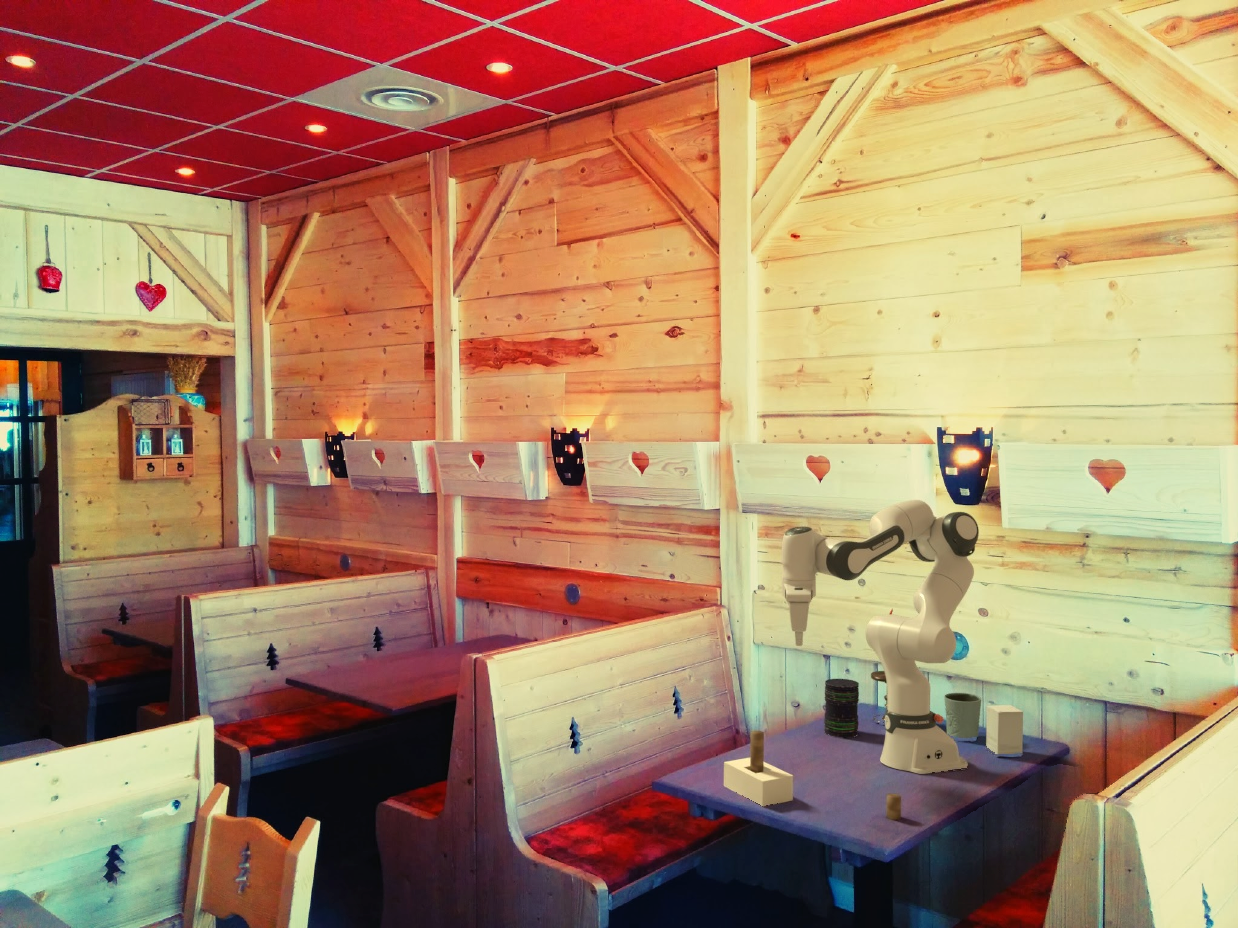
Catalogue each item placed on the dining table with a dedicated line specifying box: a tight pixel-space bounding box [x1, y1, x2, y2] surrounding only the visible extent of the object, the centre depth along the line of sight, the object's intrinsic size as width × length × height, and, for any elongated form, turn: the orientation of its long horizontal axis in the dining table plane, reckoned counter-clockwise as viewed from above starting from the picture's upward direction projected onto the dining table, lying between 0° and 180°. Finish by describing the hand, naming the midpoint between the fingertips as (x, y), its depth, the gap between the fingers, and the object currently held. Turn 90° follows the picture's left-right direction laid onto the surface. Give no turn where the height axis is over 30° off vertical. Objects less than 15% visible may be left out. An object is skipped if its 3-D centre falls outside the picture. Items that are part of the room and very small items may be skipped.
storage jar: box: [823, 678, 860, 738], centre depth 304 cm, size 10×10×15 cm
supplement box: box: [985, 704, 1024, 754], centre depth 286 cm, size 7×7×13 cm
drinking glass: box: [943, 692, 982, 738], centre depth 300 cm, size 10×10×12 cm
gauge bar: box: [723, 757, 794, 807], centre depth 253 cm, size 9×16×6 cm, turn 29°
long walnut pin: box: [749, 730, 765, 773], centre depth 253 cm, size 3×3×15 cm
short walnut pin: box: [885, 793, 902, 821], centre depth 238 cm, size 3×3×5 cm
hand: (799, 640), depth 273 cm, fingers open, 8 cm apart
